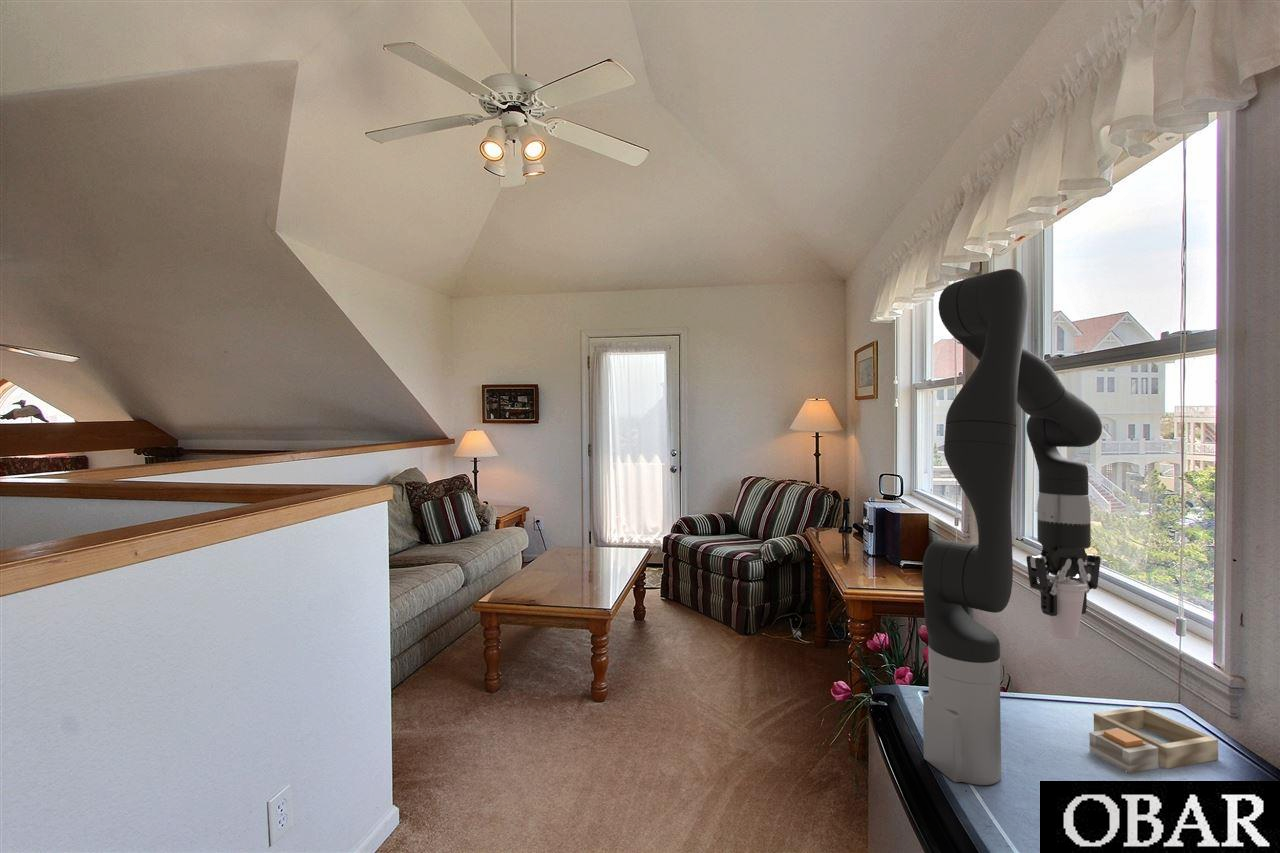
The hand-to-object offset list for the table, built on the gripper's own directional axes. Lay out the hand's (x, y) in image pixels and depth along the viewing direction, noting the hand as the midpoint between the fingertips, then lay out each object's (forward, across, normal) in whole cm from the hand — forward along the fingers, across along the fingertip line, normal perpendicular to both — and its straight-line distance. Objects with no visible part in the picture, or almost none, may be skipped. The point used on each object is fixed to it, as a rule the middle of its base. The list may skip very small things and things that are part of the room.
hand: (1064, 613), depth 97 cm
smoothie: (+4, 0, 0) cm, 4 cm away
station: (+18, +1, -11) cm, 21 cm away
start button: (+17, -5, -13) cm, 21 cm away
